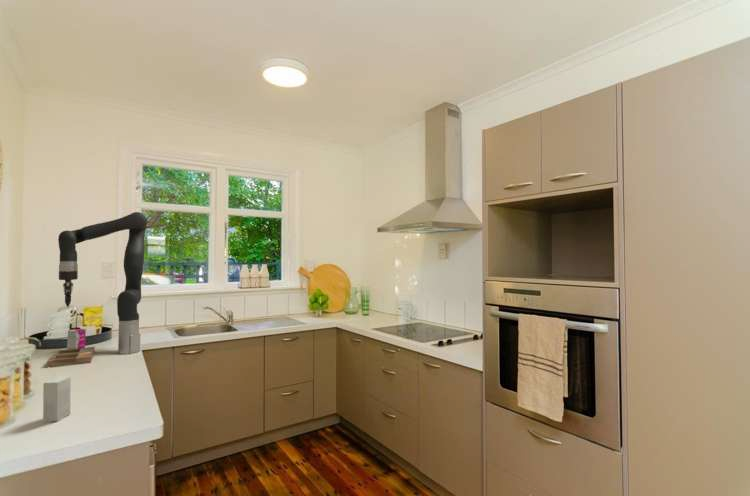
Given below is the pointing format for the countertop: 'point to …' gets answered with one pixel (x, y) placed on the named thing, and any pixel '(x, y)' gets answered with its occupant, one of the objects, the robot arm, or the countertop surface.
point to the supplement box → (76, 338)
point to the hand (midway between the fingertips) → (68, 302)
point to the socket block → (71, 357)
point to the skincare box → (56, 399)
